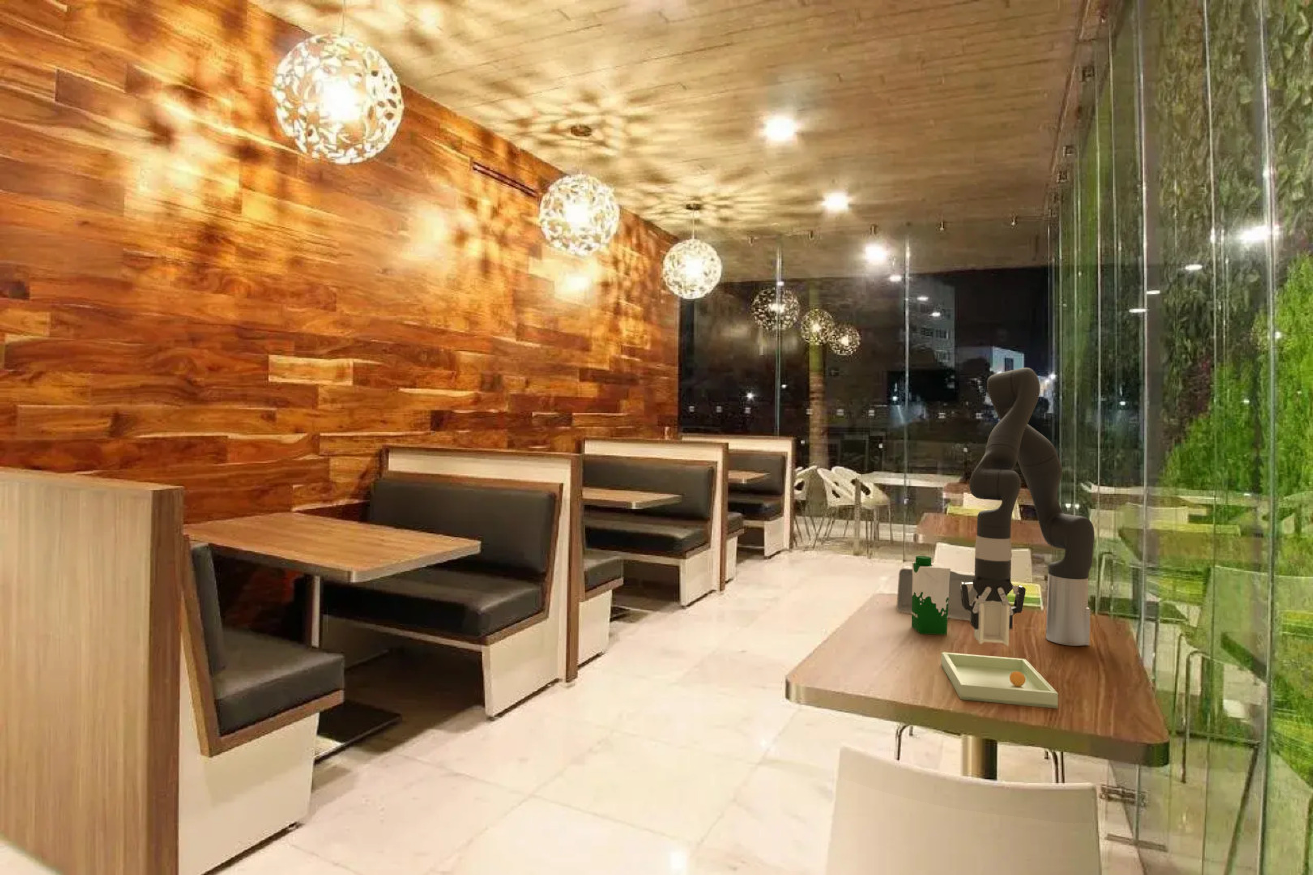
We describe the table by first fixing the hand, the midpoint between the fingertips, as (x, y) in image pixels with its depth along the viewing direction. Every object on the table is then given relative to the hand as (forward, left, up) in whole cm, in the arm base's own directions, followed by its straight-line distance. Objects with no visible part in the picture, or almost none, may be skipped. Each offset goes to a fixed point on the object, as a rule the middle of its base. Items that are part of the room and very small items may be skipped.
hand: (991, 629), depth 168 cm
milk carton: (+8, -30, -9) cm, 33 cm away
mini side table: (0, 0, -3) cm, 3 cm away
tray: (+1, +11, -9) cm, 14 cm away
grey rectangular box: (+1, -55, -10) cm, 55 cm away
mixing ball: (-3, +12, -7) cm, 14 cm away
